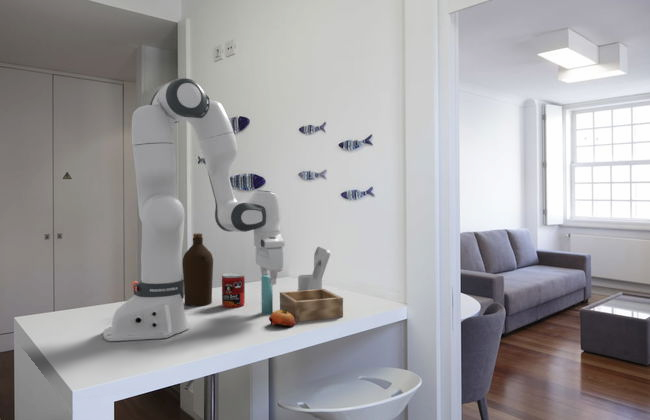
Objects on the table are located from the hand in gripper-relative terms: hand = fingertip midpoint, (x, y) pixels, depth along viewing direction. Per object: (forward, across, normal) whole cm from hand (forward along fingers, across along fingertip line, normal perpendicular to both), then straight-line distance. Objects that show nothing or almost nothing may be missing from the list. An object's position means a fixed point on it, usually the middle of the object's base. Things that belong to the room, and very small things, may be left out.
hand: (268, 281), depth 154 cm
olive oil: (+10, -23, -20) cm, 32 cm away
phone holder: (+11, -22, +24) cm, 34 cm away
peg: (+10, 0, -1) cm, 10 cm away
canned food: (+10, -15, -9) cm, 20 cm away
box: (+11, +6, +12) cm, 17 cm away
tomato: (+11, +16, -1) cm, 19 cm away
